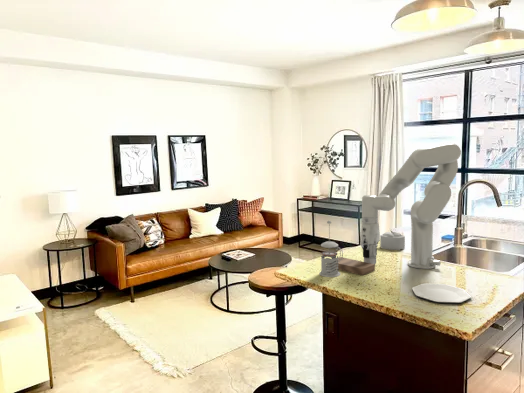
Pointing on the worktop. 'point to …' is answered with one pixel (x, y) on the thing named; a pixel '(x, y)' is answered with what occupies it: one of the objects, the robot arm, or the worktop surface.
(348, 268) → the walnut board
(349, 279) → the worktop surface
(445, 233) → the worktop surface
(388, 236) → the lumpy-topped squat cylinder
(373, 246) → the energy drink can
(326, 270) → the french press
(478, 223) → the worktop surface
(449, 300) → the plate
